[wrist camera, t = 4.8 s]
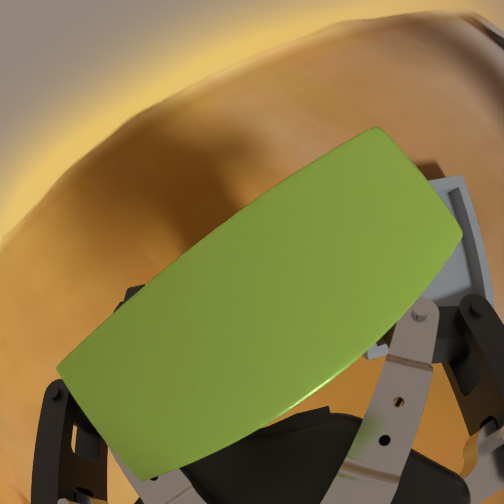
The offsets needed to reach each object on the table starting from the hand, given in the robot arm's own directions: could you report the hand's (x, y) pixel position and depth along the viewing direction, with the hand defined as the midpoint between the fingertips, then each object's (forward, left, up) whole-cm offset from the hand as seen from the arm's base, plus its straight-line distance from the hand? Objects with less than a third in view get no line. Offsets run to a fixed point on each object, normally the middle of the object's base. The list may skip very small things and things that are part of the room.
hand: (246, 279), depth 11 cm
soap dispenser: (0, +1, -11) cm, 12 cm away
